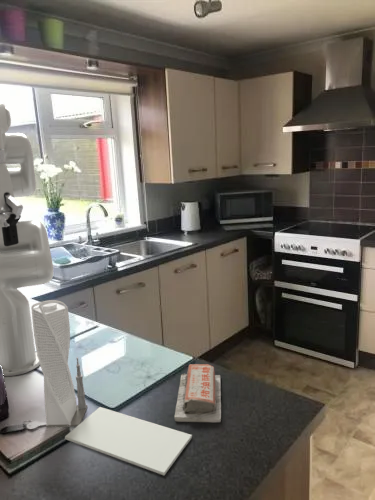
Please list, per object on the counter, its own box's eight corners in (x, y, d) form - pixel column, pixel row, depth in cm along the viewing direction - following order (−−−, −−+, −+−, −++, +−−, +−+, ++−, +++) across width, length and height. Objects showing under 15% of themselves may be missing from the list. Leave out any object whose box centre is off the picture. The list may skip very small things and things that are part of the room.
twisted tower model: (77, 430, 85) (64, 303, 79) (38, 432, 86) (22, 304, 79) (87, 406, 94) (75, 289, 87) (51, 407, 94) (37, 290, 87)
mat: (65, 439, 83) (64, 436, 83) (100, 409, 93) (99, 406, 92) (164, 475, 73) (164, 472, 73) (191, 437, 82) (191, 435, 82)
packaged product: (180, 361, 104) (220, 361, 103) (181, 378, 105) (220, 379, 104) (173, 403, 86) (221, 404, 86) (174, 423, 87) (221, 424, 87)
